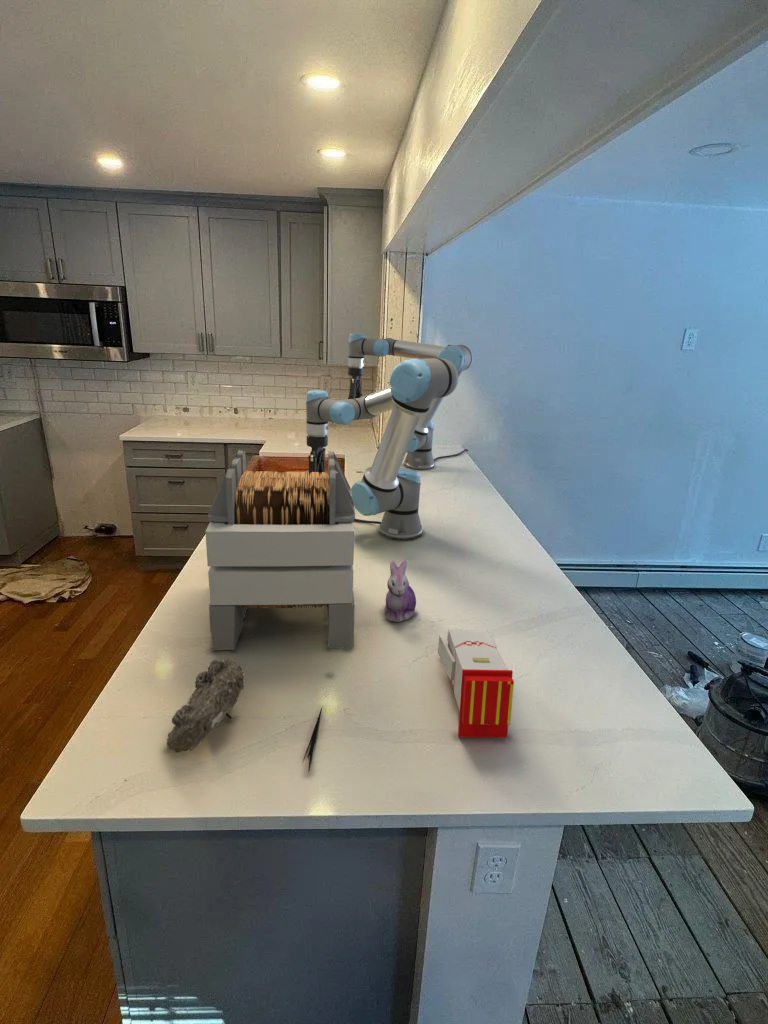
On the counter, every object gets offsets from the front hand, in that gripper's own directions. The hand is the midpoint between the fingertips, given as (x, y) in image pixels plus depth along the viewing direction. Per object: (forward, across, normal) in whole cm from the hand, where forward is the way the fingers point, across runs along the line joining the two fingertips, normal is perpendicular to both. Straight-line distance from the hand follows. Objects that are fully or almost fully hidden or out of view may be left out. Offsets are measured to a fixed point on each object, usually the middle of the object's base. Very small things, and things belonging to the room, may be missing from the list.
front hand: (317, 496), depth 209 cm
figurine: (+8, -63, -41) cm, 75 cm away
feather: (+8, -106, -32) cm, 111 cm away
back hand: (-18, +82, +5) cm, 84 cm away
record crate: (+8, -70, -13) cm, 71 cm away
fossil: (+8, -110, -12) cm, 111 cm away
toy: (+8, -90, -60) cm, 109 cm away
